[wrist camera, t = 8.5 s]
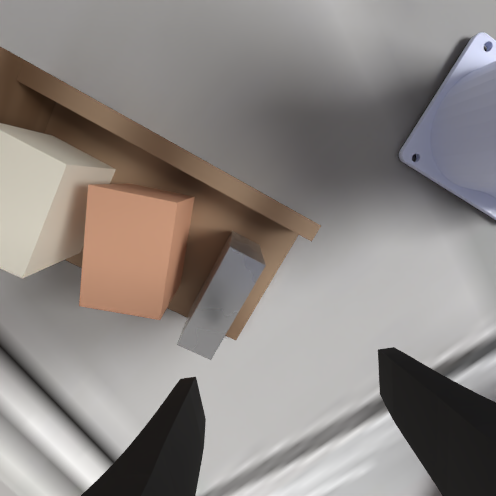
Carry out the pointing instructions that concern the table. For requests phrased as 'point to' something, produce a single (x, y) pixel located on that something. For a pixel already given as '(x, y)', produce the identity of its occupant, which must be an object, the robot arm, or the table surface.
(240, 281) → the grey rectangular block
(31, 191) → the cream book
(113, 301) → the salmon orange block
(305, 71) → the table surface
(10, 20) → the table surface
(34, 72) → the wooden shelf
